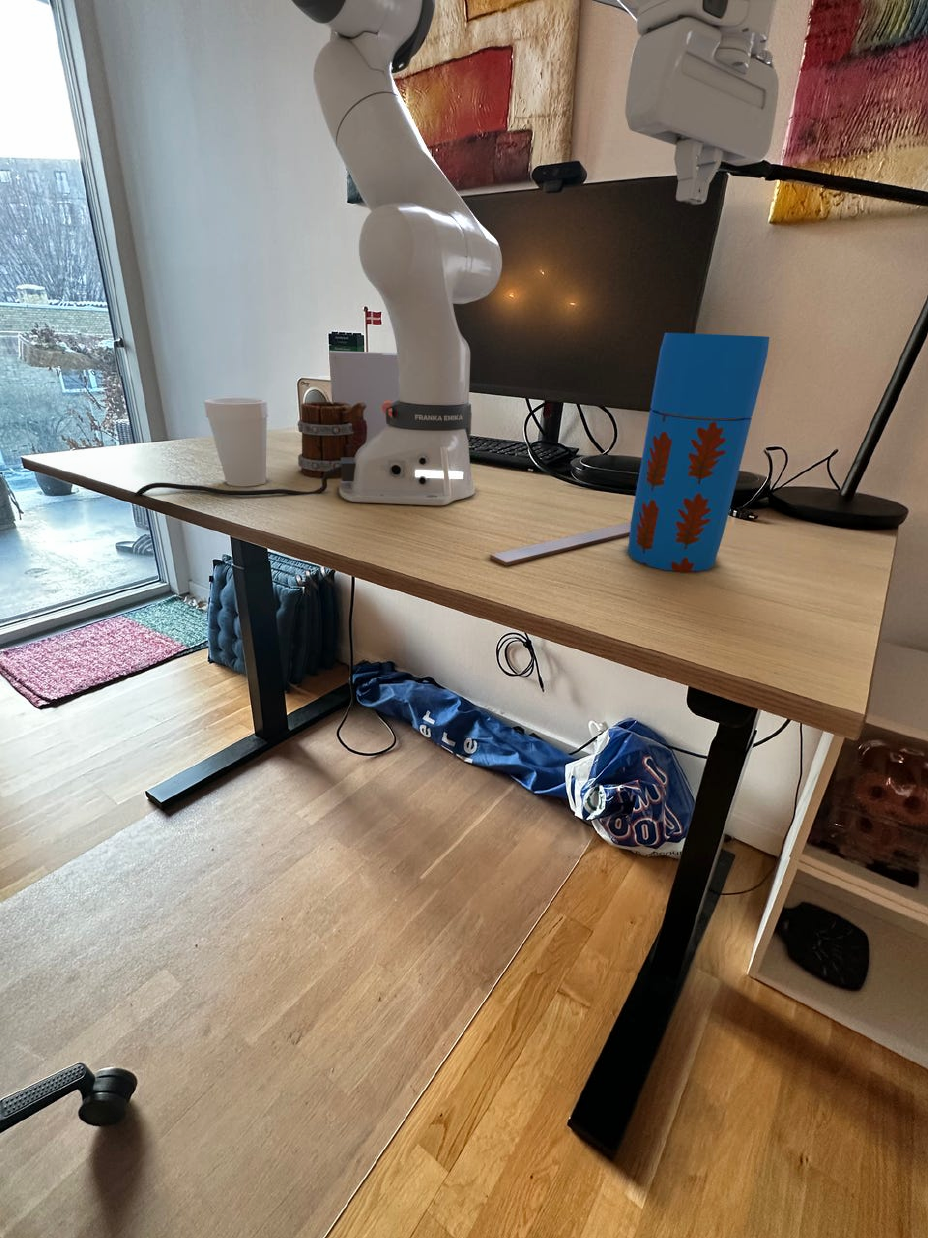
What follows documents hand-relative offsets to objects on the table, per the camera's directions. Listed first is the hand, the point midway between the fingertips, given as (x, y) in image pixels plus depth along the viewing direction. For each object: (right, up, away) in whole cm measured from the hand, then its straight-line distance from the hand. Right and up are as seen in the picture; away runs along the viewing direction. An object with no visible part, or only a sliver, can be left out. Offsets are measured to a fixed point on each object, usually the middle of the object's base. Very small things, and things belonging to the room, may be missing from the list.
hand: (690, 202), depth 61 cm
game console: (-37, -10, +61) cm, 72 cm away
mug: (-47, -17, +46) cm, 68 cm away
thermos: (+2, -36, +11) cm, 38 cm away
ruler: (-8, -34, +16) cm, 38 cm away
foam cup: (-61, -21, +37) cm, 74 cm away
